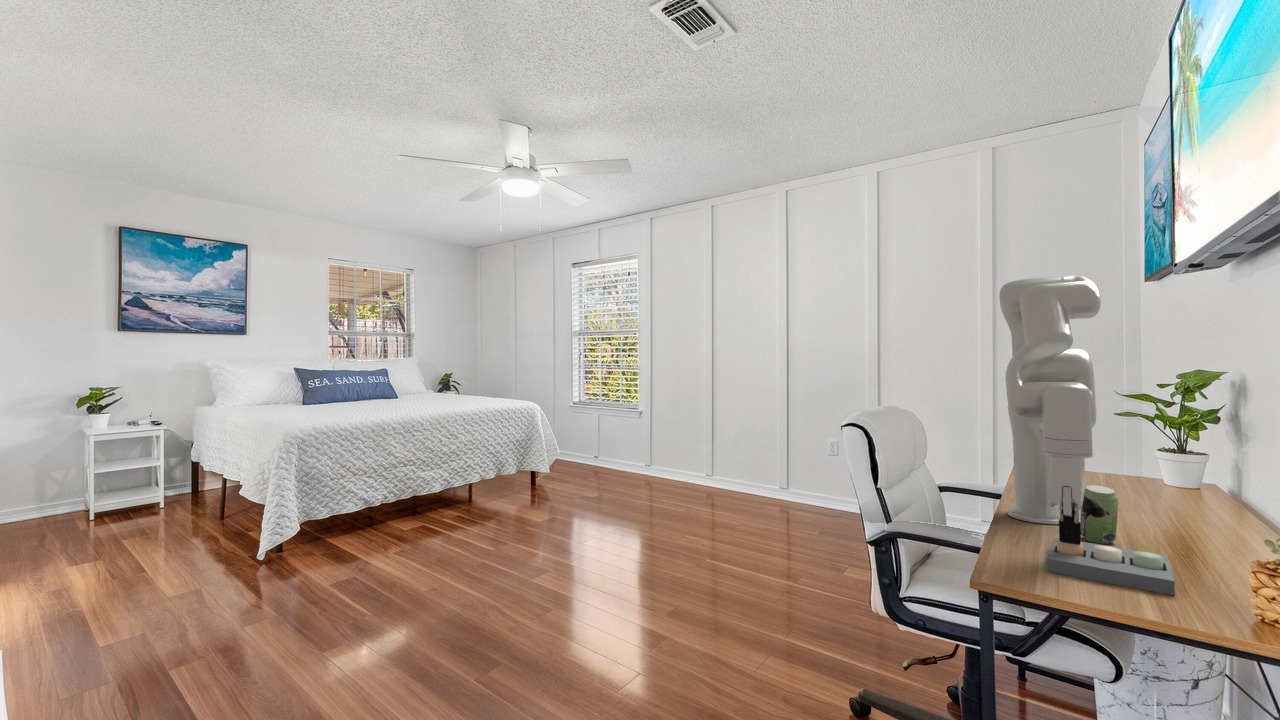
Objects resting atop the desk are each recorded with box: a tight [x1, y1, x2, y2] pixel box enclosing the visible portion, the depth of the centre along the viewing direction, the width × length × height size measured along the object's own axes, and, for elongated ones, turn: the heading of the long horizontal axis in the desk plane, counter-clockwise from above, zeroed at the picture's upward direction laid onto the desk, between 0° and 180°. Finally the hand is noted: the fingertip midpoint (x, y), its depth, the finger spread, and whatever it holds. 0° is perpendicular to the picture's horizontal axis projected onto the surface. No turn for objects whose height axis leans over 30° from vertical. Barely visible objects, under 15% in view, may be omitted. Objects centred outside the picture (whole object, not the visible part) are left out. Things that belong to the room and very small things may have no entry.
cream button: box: [1093, 544, 1122, 563], centre depth 101 cm, size 4×4×4 cm
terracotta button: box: [1057, 539, 1084, 557], centre depth 105 cm, size 4×4×4 cm
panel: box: [1046, 537, 1176, 596], centre depth 102 cm, size 16×17×2 cm
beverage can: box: [1079, 484, 1119, 545], centre depth 118 cm, size 6×7×12 cm
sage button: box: [1132, 551, 1163, 570], centre depth 98 cm, size 4×4×4 cm
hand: (1070, 542), depth 105 cm, fingers closed
